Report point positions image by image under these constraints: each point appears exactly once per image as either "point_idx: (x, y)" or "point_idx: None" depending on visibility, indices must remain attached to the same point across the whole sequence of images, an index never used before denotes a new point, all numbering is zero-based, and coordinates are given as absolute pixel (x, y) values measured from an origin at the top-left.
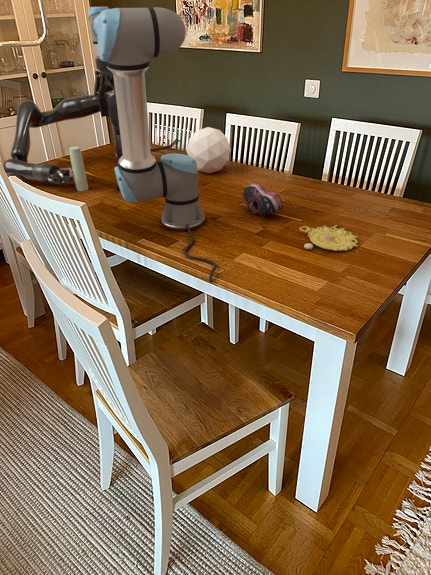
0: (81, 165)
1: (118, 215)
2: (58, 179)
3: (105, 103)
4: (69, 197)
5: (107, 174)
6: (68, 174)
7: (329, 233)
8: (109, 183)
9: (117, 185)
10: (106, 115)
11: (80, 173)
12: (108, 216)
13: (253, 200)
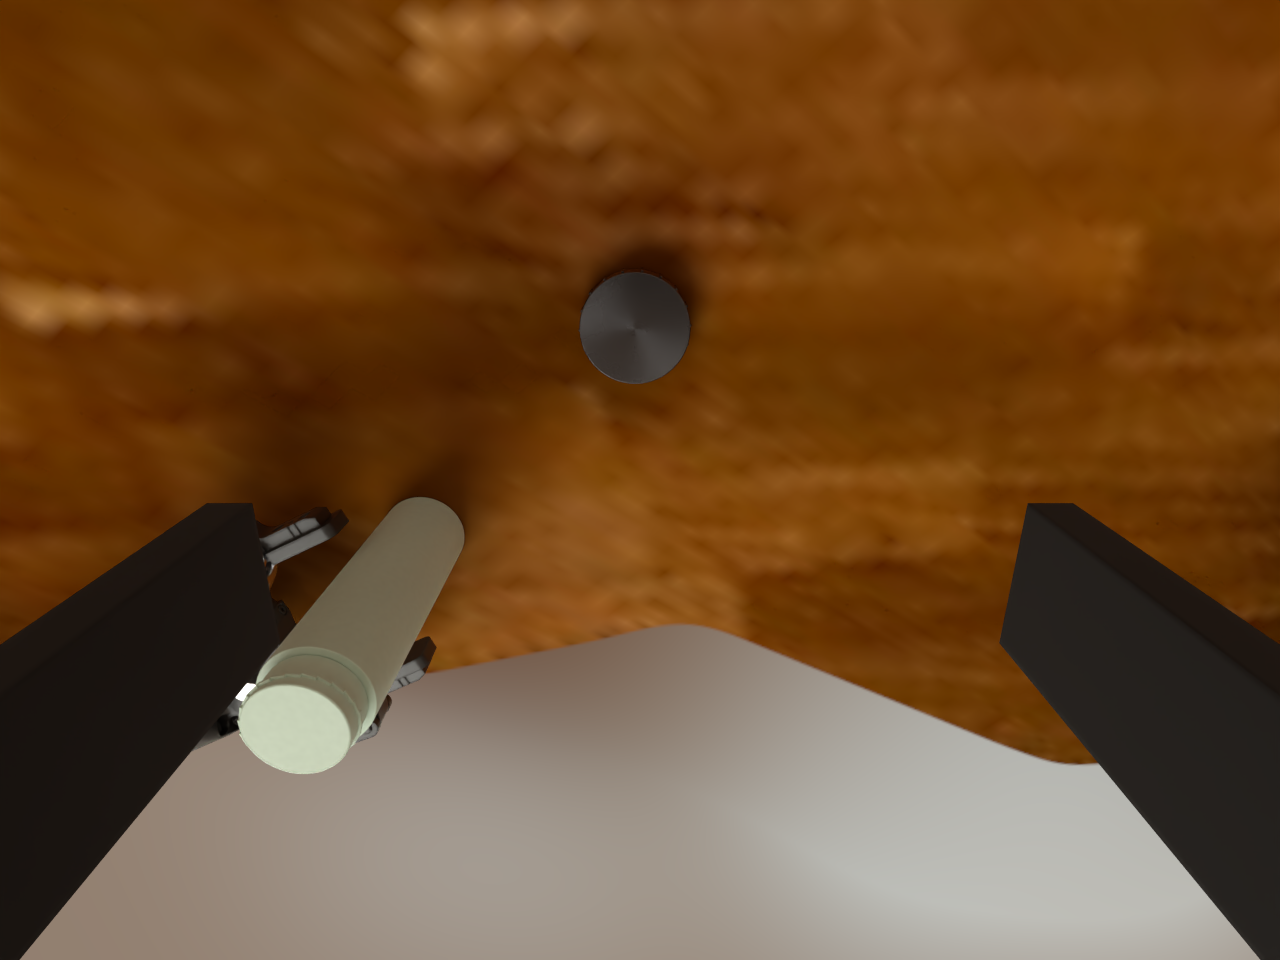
0: (409, 625)
1: (990, 616)
2: (380, 725)
3: (44, 696)
4: (501, 654)
5: (207, 206)
6: (275, 607)
7: None
8: (441, 331)
9: (627, 382)
10: (252, 545)
11: (428, 610)
12: (950, 657)
13: None
